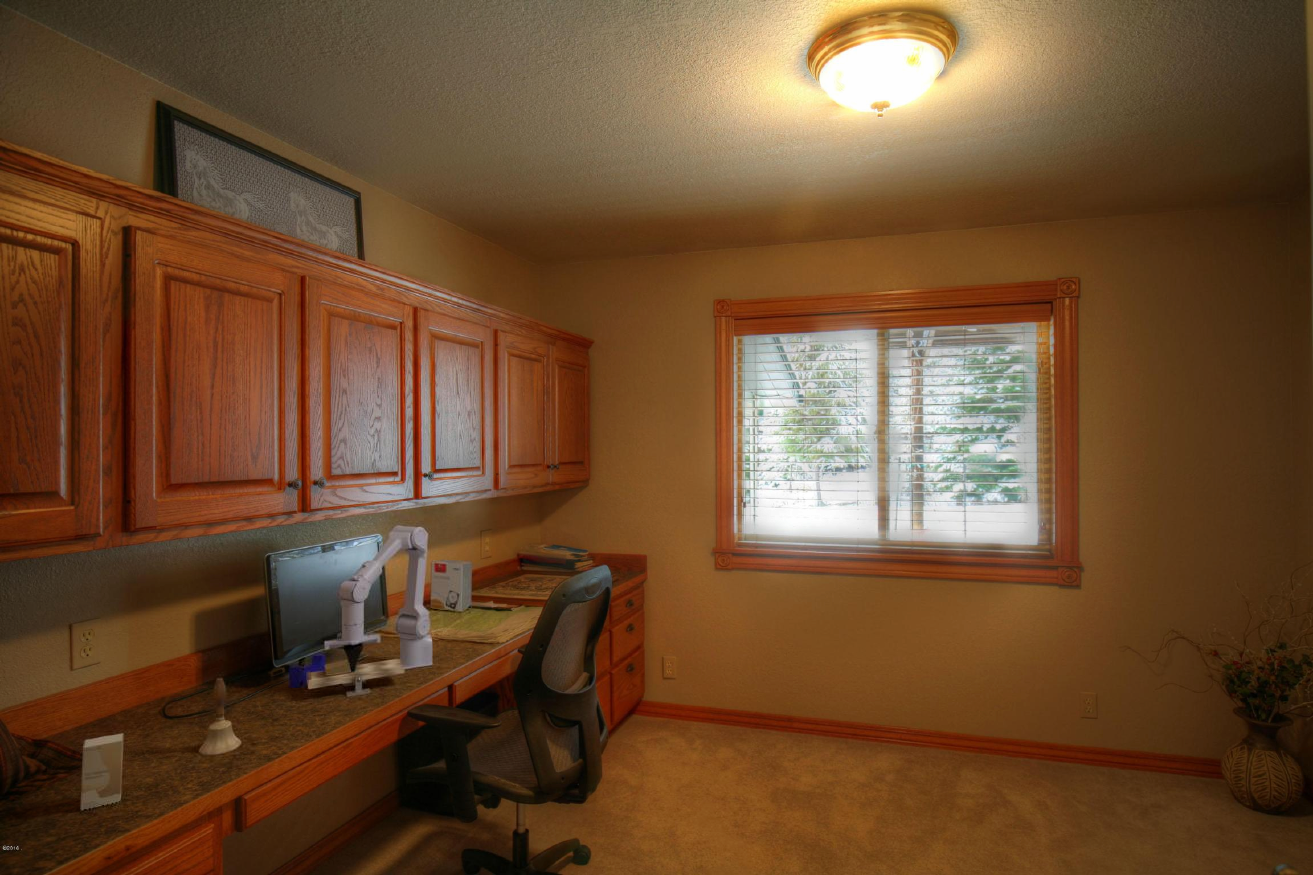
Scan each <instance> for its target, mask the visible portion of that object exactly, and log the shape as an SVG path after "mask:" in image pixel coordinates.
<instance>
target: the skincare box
mask: <svg viewBox="0 0 1313 875" xmlns="http://www.w3.org/2000/svg"><path fill="white" fill-rule="evenodd" d="M124 736H125V735H124V733H123V732H122V733H118V734H117V733H116V734H112V735H104V736H100V737H95V738H89V739H88V738H87V739H85V740H84V742H83V746H82V761H81V763H82V765H81V785H80V786H81V789H80V791H81V792H80V808H79V810H80V811H85V810H84V809H86V810H89V808H90V809H95V808H98V807H102V805H104V806H108V805H111V804H112V803H113V804H117V803H120V802H121V800H122V787H123V786H122V783H123V782H122V781H123V761H124V760H123V756H124ZM119 801H120V802H119ZM116 802H117V803H116ZM107 804H108V805H107ZM113 804H112V805H113ZM94 807H95V808H94Z"/></svg>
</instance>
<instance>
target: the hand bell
mask: <svg viewBox="0 0 1313 875" xmlns="http://www.w3.org/2000/svg"><path fill="white" fill-rule="evenodd" d="M212 696H213V697H212V698H213V701H214V704H215V721H214V722H213V723H211V724H210V725H209V726H208V729H207V730H208V732H207V737H206V739H205V741H204V742H203V744H202V745H201V746H200V747H199V749H198V753H199V754H200V755H203V756H218V755H223V754H226V753H229V752H232V751H234V750H236V749H237V748H239V747H240V746H241V745H242V741H241V739H240V738H239V737H237V736H236V735H235V733H234V731H233V726H232V725H233V724H232V722H231V721H230V720H227V719H225V709H224V708H225V701H226V697H227V687H226V683H225V682H224V679H223V677H218V678H216V679H215V683H214V686H213V689H212Z"/></svg>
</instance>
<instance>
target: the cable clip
mask: <svg viewBox="0 0 1313 875" xmlns="http://www.w3.org/2000/svg"><path fill="white" fill-rule="evenodd" d="M324 665H326V655H325V654H318V653H316V654H313V655H312V660H311V663H310V664H308V665H306V666H305V667H304V669H303V665H290V666H289V667H288V668H289V669H288V679H289V680H288V687H289V688H295V689H299V688H301V687H303V686H305V685H307V672H310V673H311V672H318V671H324V670H325V668H324Z"/></svg>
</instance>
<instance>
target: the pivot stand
mask: <svg viewBox="0 0 1313 875" xmlns="http://www.w3.org/2000/svg"><path fill="white" fill-rule="evenodd" d="M363 684H367V679H365V680H362V675H358V676H355V681H354V682H348V683H342V687H349V686H354V690H352V691H346V693H345V694H346V697H348V698H349V697H355V696H361V695H368V694H371V689H370V688H363Z"/></svg>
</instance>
